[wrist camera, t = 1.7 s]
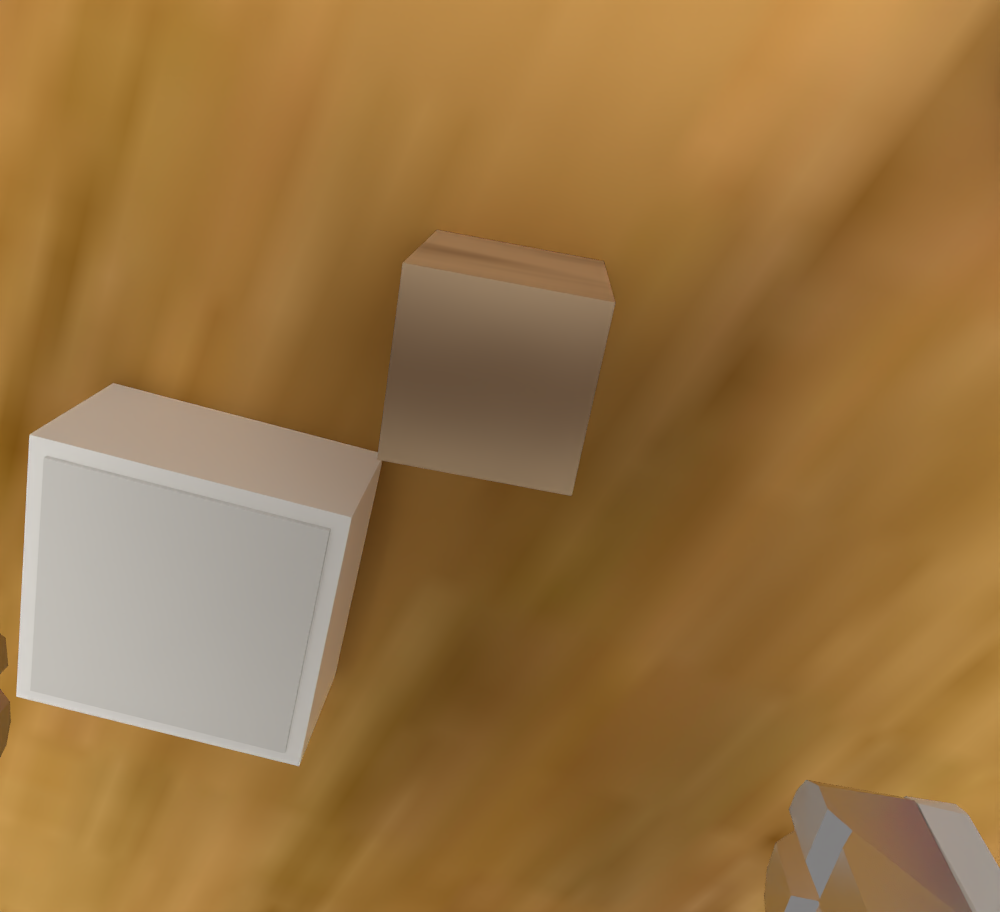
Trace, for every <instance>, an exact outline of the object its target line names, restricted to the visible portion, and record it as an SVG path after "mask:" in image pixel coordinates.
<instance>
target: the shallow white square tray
mask: <svg viewBox="0 0 1000 912" xmlns="http://www.w3.org/2000/svg"><path fill="white" fill-rule="evenodd" d="M377 456H378V452H375V451H371V450H367V449H364V448H360V447H356V446H352V445H348V444H344V443H341V442H337V441H333V440H329V439H325V438H321V437H318V436H314V435H310V434H306V433H302V432H299V431H295V430H291V429H287V428H283V427H279V426H276V425H272V424H268V423H264V422H260V421H256V420H253V419H249V418H245V417H241V416H237V415H234V414H230V413H226V412H222V411H218V410H214V409H211V408H207V407H203V406H199V405H195V404H191V403H188V402H184V401H180V400H176V399H172V398H168V397H165V396H161V395H157V394H153V393H149V392H146V391H142V390H138V389H134V388H130V387H126V386H123V385H119V384H115V383H113V384H111V385H109V386H108V387H106V388H104V389H103V390H101V391H99V392H98V393H96V394H95V395H93V396H91V397H90V398H88V399H86V400H85V401H83V402H82V403H80V404H78V405H77V406H75V407H73V408H72V409H70V410H69V411H67V412H65V413H64V414H62V415H60V416H59V417H57V418H56V419H54V420H52V421H51V422H49V423H47V424H46V425H44V426H43V427H41V428H39V429H38V430H36V431H34V432H33V433H31V434H30V435H29V455H28V475H27V495H26V515H25V534H24V554H23V574H22V594H21V614H20V634H19V654H18V674H17V694H16V697H20V698H24V699H28V700H32V701H37V702H41V703H45V704H49V705H53V706H57V707H61V708H65V709H69V710H73V711H77V712H81V713H85V714H89V715H93V716H97V717H101V718H105V719H109V720H114V721H118V722H122V723H126V724H130V725H134V726H138V727H142V728H146V729H150V730H154V731H158V732H162V733H166V734H170V735H174V736H178V737H182V738H186V739H191V740H195V741H199V742H203V743H207V744H211V745H215V746H219V747H223V748H227V749H231V750H235V751H239V752H243V753H247V754H251V755H255V756H259V757H263V758H268V759H272V760H276V761H280V762H284V763H288V764H292V765H296V766H299V765H300V763H301V760H302V758H303V755H304V753H305V750H306V748H307V745H308V743H309V740H310V738H311V735H312V733H313V730H314V727H315V725H316V722H317V720H318V717H319V715H320V712H321V710H322V707H323V705H324V702H325V700H326V697H327V695H328V692H329V690H330V687H331V685H332V682H333V680H334V677H335V674H336V670H337V665H338V660H339V656H340V651H341V647H342V642H343V638H344V633H345V629H346V624H347V620H348V615H349V611H350V606H351V602H352V597H353V593H354V588H355V583H356V579H357V574H358V570H359V565H360V561H361V556H362V552H363V547H364V543H365V538H366V534H367V529H368V525H369V520H370V515H371V511H372V506H373V502H374V497H375V493H376V488H377V484H378V479H379V475H380V470H381V466H382V460H377Z"/></svg>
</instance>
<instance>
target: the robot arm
mask: <svg viewBox="0 0 1000 912" xmlns="http://www.w3.org/2000/svg"><path fill="white" fill-rule="evenodd" d="M7 666H8V658H7V648H6V638H5V637H4V636H2V635H1V634H0V674H1V673H2V672H3V671H4V669H5V668H6V667H7ZM10 723H11V718H10V701H9V700H8V699H7V697H6V696H5V695H4V693H3V692H2V691H1V689H0V757H1V755H2V753H3V751H4V749H5V746H6V743H7V738H8V733H9V728H10ZM789 811H790V814H791V818H792V821H793V824H794V827H795V831H793V832H792V833H790V834H789V835H787V836H785V837H784V838H782V839H781V840H779V841H778V842H776V844H775V847H774V849H773V852H772V855H771V858H770V861H769V864H768V867H767V873H766V883H765V893H764V900H765V912H1000V868H999V867H998V865H997V863H996V861H995V860H994V858H993V856H992V855H991V853H990V851H989V849H988V848H987V846H986V844H985V843H984V841H983V839H982V838H981V836H980V834H979V832H978V831H977V829H976V827H975V826H974V824H973V822H972V820H971V819H970V817H969V815H968V814H967V813H966V812H965V811H964V810H962V809H961V808H960V807H958V806H957V805H956V804H951V803H945V802H939V801H932V800H926V799H920V798H914V797H907V796H906V797H899V796H894V795H888V794H882V793H877V792H871V791H866V790H860V789H854V788H849V787H843V786H838V785H832V784H826V783H821V782H815V781H810V780H806V781H805V782H804V783H803V784H802V785H801V786H800V787H799V788H798V790H797V791H796V794H795V796H794V798H793V801H792V803H791V806H790V808H789Z"/></svg>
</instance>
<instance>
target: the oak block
mask: <svg viewBox="0 0 1000 912" xmlns="http://www.w3.org/2000/svg"><path fill="white" fill-rule="evenodd" d="M614 307H615V299H614V296H613V292H612V289H611V285H610V281H609V278H608V274H607V271H606V267H605V263H604V261H601V260H595V259H590V258H585V257H579V256H574V255H569V254H563V253H558V252H553V251H548V250H542V249H537V248H532V247H526V246H521V245H516V244H510V243H505V242H500V241H494V240H489V239H484V238H478V237H473V236H468V235H462V234H457V233H452V232H447V231H441V230H436V231H435V232H434V233H433V234H432V235H431V236H430V237H429V238H428V239H427V240H426V241H425V242H424V243H423V244H422V245H421V246H420V247H418V248H417V249H416V250H415V251H414V252H413V253H412V254H411V255H410V256H409V257H408V258H407V259H406V260H405V261H404V262H403V265H402V272H401V280H400V288H399V295H398V303H397V310H396V318H395V326H394V333H393V341H392V349H391V356H390V364H389V372H388V379H387V387H386V395H385V402H384V410H383V417H382V425H381V433H380V440H379V448H378V456H377V460H382V461H387V462H392V463H398V464H403V465H408V466H414V467H419V468H424V469H430V470H435V471H441V472H446V473H451V474H457V475H462V476H467V477H473V478H478V479H483V480H489V481H494V482H499V483H505V484H510V485H515V486H521V487H526V488H531V489H537V490H542V491H548V492H553V493H558V494H564V495H569V496H572V492H573V488H574V483H575V479H576V474H577V470H578V466H579V461H580V457H581V452H582V448H583V444H584V439H585V435H586V430H587V426H588V422H589V417H590V413H591V408H592V404H593V399H594V395H595V391H596V386H597V382H598V377H599V373H600V369H601V364H602V360H603V355H604V351H605V347H606V342H607V338H608V333H609V329H610V324H611V320H612V316H613V311H614Z"/></svg>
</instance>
